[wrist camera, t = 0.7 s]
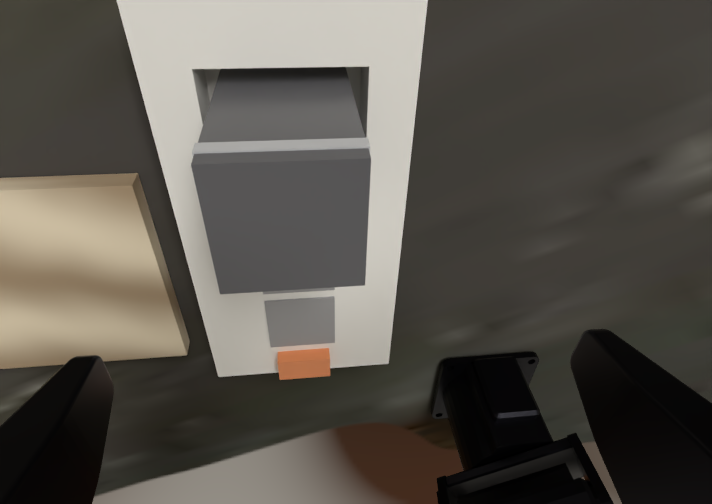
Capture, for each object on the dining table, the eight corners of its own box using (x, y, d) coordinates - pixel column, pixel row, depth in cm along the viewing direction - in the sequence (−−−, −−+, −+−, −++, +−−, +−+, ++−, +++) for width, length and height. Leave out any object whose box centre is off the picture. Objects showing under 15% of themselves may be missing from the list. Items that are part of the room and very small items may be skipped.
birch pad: (190, 341, 27) (187, 355, 26) (-17, 355, 26) (-26, 370, 25) (137, 173, 20) (132, 185, 19) (-147, 183, 19) (-166, 196, 18)
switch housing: (380, 322, 28) (390, 374, 25) (224, 333, 27) (216, 388, 24) (409, -29, 16) (434, -5, 14) (139, -30, 16) (106, -5, 13)
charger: (345, 172, 20) (366, 286, 15) (237, 176, 20) (218, 295, 14) (346, 63, 17) (373, 156, 12) (219, 65, 17) (188, 162, 11)
